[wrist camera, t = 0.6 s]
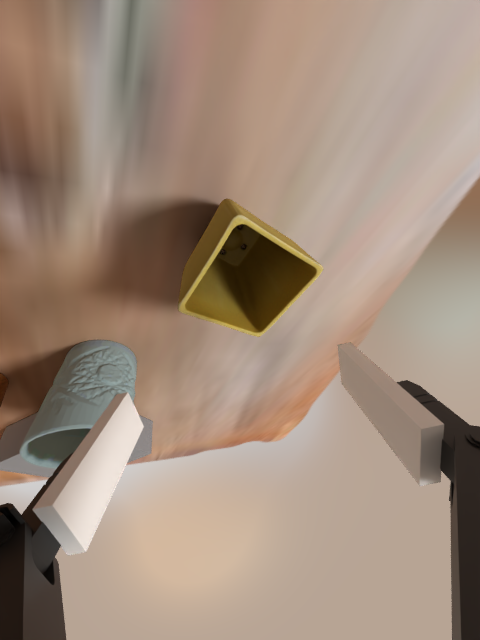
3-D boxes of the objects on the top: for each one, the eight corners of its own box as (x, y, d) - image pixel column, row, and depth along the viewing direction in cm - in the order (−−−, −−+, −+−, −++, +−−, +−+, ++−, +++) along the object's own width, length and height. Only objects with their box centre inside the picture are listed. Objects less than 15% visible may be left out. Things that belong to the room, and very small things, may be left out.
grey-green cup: (84, 386, 36) (59, 476, 28) (39, 343, 29) (-13, 448, 21) (152, 371, 37) (147, 454, 29) (125, 326, 30) (108, 419, 22)
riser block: (6, 427, 39) (-14, 468, 35) (85, 389, 37) (75, 428, 33) (87, 448, 50) (80, 481, 46) (152, 421, 48) (151, 453, 44)
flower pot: (240, 285, 30) (260, 339, 23) (173, 255, 25) (175, 312, 19) (286, 223, 25) (326, 269, 19) (216, 173, 21) (237, 211, 14)
